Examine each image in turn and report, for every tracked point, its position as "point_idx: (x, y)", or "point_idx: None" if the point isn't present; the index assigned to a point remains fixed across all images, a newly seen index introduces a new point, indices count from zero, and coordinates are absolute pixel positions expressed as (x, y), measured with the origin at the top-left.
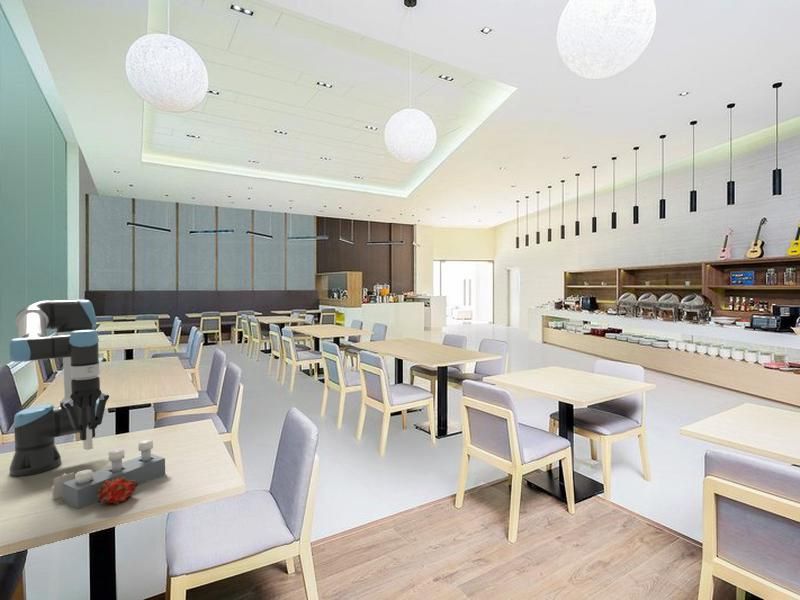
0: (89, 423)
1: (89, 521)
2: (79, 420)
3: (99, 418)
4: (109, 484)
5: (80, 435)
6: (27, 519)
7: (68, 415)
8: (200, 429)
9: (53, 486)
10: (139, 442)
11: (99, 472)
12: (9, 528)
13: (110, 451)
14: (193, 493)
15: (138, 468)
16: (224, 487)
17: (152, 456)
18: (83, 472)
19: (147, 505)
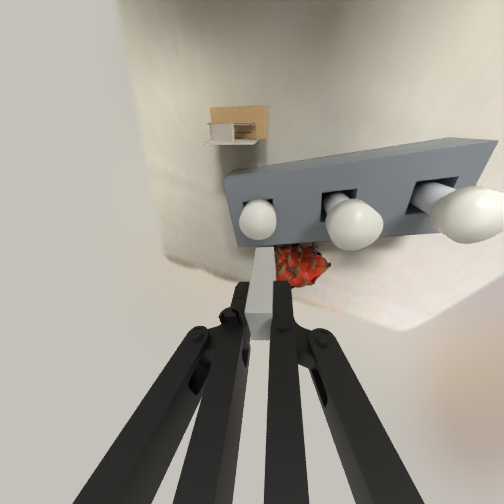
0: (276, 346)
1: (245, 275)
2: (209, 387)
3: (325, 400)
4: (280, 280)
5: (233, 302)
6: (179, 201)
7: (108, 459)
8: None
9: (211, 130)
10: (470, 206)
11: (303, 187)
12: (159, 211)
13: (345, 216)
14: (363, 308)
15: None
16: (395, 323)
17: (460, 187)
18: (256, 222)
19: (309, 292)
